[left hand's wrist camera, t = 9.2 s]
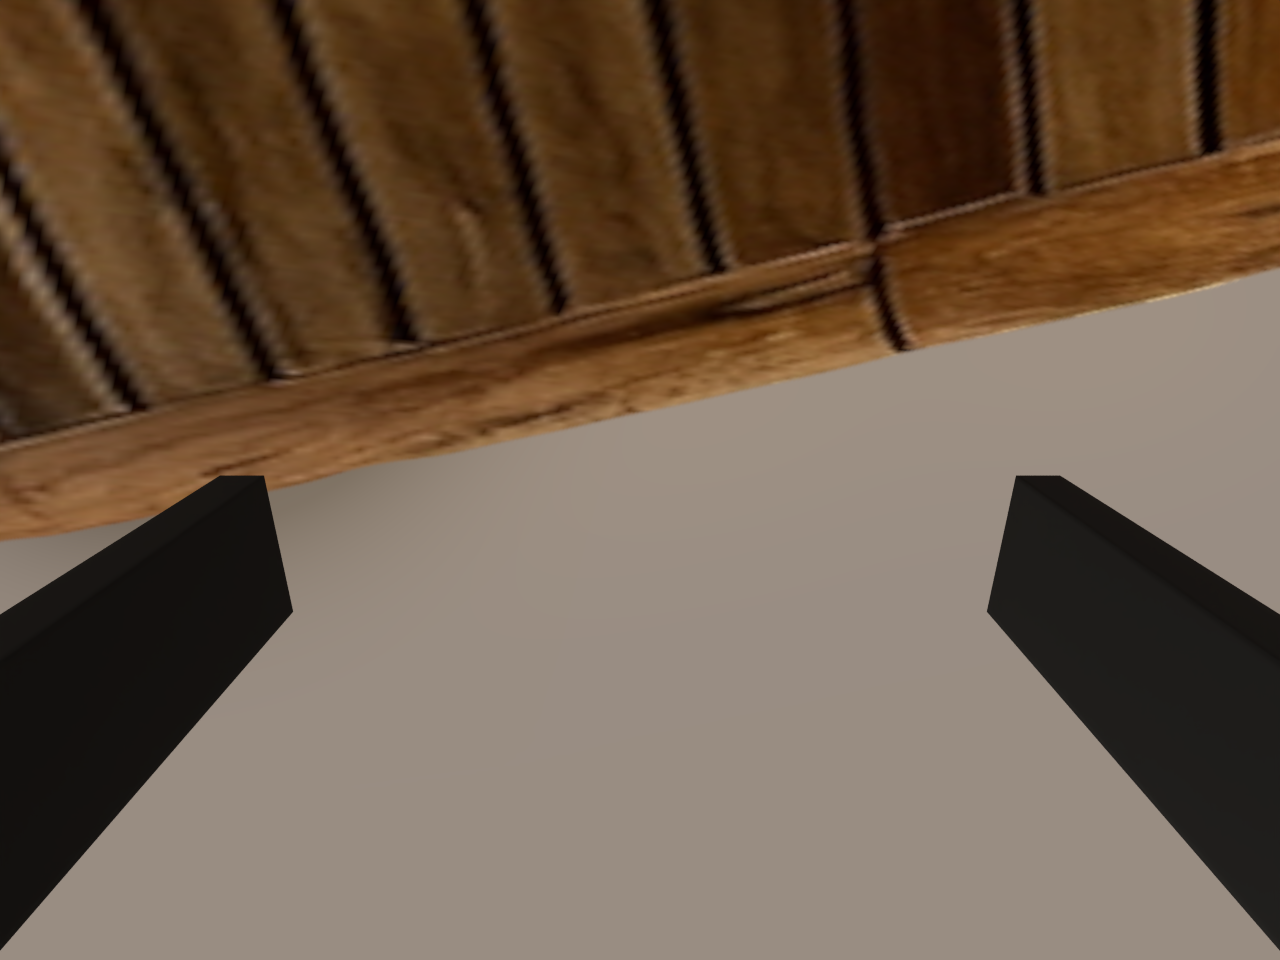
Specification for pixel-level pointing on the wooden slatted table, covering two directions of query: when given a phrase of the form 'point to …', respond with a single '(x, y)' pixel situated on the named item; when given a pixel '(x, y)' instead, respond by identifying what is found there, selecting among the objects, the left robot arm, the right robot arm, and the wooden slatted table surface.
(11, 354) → the wooden slatted table surface
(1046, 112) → the wooden slatted table surface
